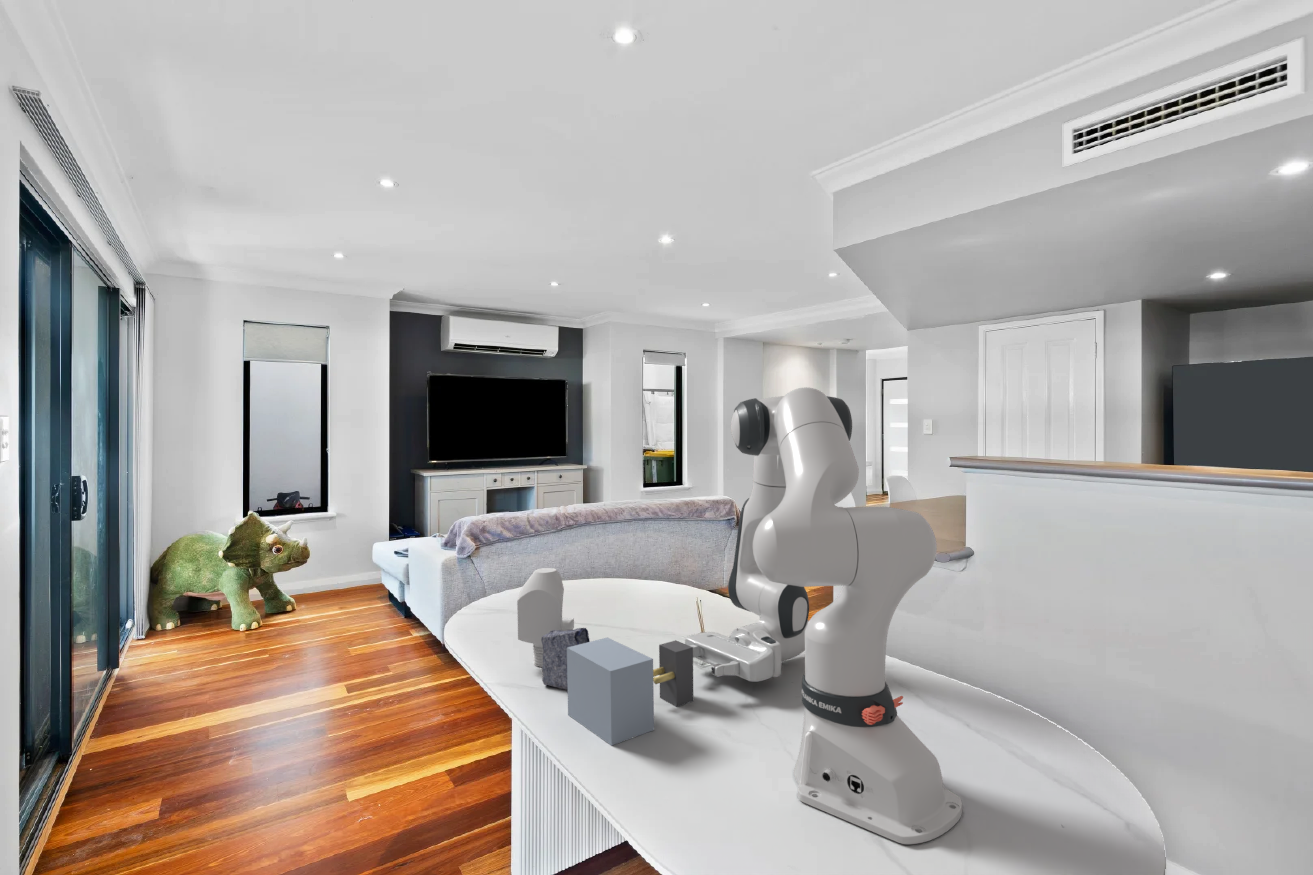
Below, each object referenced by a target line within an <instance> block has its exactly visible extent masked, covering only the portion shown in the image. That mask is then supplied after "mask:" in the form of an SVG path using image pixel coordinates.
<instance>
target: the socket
mask: <svg viewBox="0 0 1313 875" xmlns="http://www.w3.org/2000/svg"><path fill="white" fill-rule="evenodd" d="M653 670H654V658H653V657H650V656H648V655H645V653H644V654H643V653H641V652H640V651H637V650H635V649H633V648H631V647H629V646H626V644H625V645H624V644H623V643H620V642H619V641H616V640H614V639H612V638H610V637H603V638H600V639H595V640H591V641H590V642H587V643H583V644H579V645H575V646H571V647H567V684H568V690H567V715H568V716H569V717H570V718H572V719H573V720H574V721H576V722H577V723H579V725H582V727H583V728H584V727H585V729H588V730H589V731H590V732H591V733H593V734H594V735H596V736H597V737H599V738H600V739H601V740H603V741H604V742H606V743H607V744H608V745H609V746H615V745H617V744H620V743H622V741H623V742H625V741H624V740H626V741H628V740H631V739H633V738H632V737H634V738H636V737H639V736H641V735H645V734H647V733H649V732H652V731H654V730H655V714H654V713H655V712H654V711H655V709H654V707H655V705H654V704H655V703H654V700H655V699H654V697H655V696H654V695H655V694H654V681H653V678H654V677H653ZM635 736H636V737H635Z"/></svg>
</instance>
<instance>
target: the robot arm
mask: <svg viewBox="0 0 1313 875" xmlns="http://www.w3.org/2000/svg"><path fill="white" fill-rule="evenodd" d="M730 431H731V432H730V433H731V437H732V439H733V441H734V445H735V447H736V449H738V450H739V452H740V453H742V454H743V455H749V456H753V467H752V490H751V493H750V496H749V497H748V498H747V499H746V500H745V501H744V503H743V505H742V507H741V512H740V513H739V514H740V515H739V520H738V528H737V534H736V543H735V549H734V550H735V551H734V558H733V565H732V570H731V572H730V576H729V579H728V581H727V582H728V583H727V591H728V596H729V599H730V601H731V603H732V604H733V606H735V607H737V608H739V609H741V610H744V611H748V612H750V613H753V614H755V615H757V616H759V619H758V621H757V622H754V623H750V624H747V625H743V626H739V627H736V628H734V629H733V630H732V631H731V633H730V634H729V636H728V635H727V636H726V635H724V634H721V633H719V632H715V631H706V632H699V633H694V634H689V635H687V636H686V637H685V639H684V644H686V645H688V646H691V647H693V659H694V658H695V659H697V660H699V661H702V662H703V663H706V664H709V665H711V674H712V675H713V676H715V677H722V676H735V677H736V676H737V677H738V678H741V679H744V680H746V681H748V682H753V683H755V682H758V683H759V682H763V681H765V680H768V679H769V680H770V679H772V678H778V677H781V675H782V662H785V661H788V660H790V659H793V658H795V657H797V656H800V654H802V653H803V652H804V674H803V676H802V679H801V680H802V681H801V703H802V705H803V708H804V710H803V723H802V732H801V741H800V746H799V752H798V755H797V759H796V762H795V763H796V764H795V765H794V770H793V774H794V779H795V780H796V782H797V785H798V789H797V799H798V800H799V801H800V802H802V803H804V804H806V805H807V806H808V805H809V806H811V807H813V808H815V809H818V810H821V811H823V812H824V813H827V814H830V815H832V816H835V817H836V818H840V819H842V820H844V821H846V822H849V823H851V824H853V825H856V826H858V827H861V828H863V829H865V830H868V831H870V832H873V833H875V834H877V835H879V836H882V837H884V838H886V839H888V840H891V841H893V842H896V843H899V844H900V845H901V844H902V845H916V844H922V843H925V842H929V841H932V840H934V839H936V838H939V837H940V836H942V835H944V834H945V833H947V832H948V831H949V830H950V829H952V828H953V827H954V826H955V825H956V824H957V823H958V822H959V821H960V819H961V817H962V816H963V805H962V804H963V803H962V799H961V797H960V796H958V795H957V794H956V793H954V792H952V791H950V790H949V789H948V788H946V787H945V786H944V781H943V776H942V770H941V766H940V763H939V761H938V758H937V757H936V756H935V754H934V753H933V752H932V751H931V750H930V749H929V748H928V747H927V746H926V745H925V744H924V743H923V741H921V739H920V738H919V737H918V736H917V735H916V734H915V733H914V732H913V731H912V730H911V728H909V726H908V725H907V724H906V723H905V722H904V721H903V719H901V718H900V717H899V715H898V710H897V708H899V706H902V705H903V704H904V702H903V701H902V700H903V698H904V696H903V695H900V696H898V697H896V698H893V696H892V692H891V690H890V688H889V685H888V683H887V682H886V658H887V657H886V656H887V641H888V633H889V628H890V624H891V622H892V619H893V615H894V614H895V612H896V609H897V608H898V606H899V604H900V603H901V601H902V600H903V598H904V596H906V594H907V593H908V591H909V590H910V589H912V587H913V586H914V585H916V583H918V582H919V581H920V580H922V579H923V578H924V577H926V576H927V574H928V573H929V572H930V571H931V569H932V568H933V566H934V564H935V560H936V558H937V550H938V544H937V539H936V536H935V532H934V530H933V529H932V527H931V524H930V523H929V521H928V520H927V519H926V518H925V517H924V516H923V515H922V514H921V513H919V512H916V511H913V510H908V509H902V508H897V507H896V508H895V507H890V506H862V507H861V506H860V507H859V506H857V507H854V506H852V507H850V506H849V507H843V506H836V505H837V504H838V503H840V502H841V501H842V500H844V499H846V497H848V496H849V494H851V493H852V492H853V490H854V489H855V488H856V486H857V483H858V480H859V473H860V471H859V465H858V463H857V459H856V457H855V454H854V451H853V448H852V445H851V442H850V440H851V438H852V432H853V418H852V413H851V409H850V407H849V406H848V405H847V403H846V402H845V401H844V400H843V399H841V398H839V397H836V396H828V395H826V394H825V393H824V392H822V391H821V390H818V389H816V388H813V387H799V388H796V389H793V390H790V391H789V392H787V393H786V394H784V395H781V396H772V397H765V398H760V399H758V398H750V399H746V400H743V401H740V402H739V403H738V404H737V405H736V406H735V408H734V409H733V414H732V417H731V422H730ZM833 586H835V587H837V586H840V587H841V586H842V588H841V590H840V592H839V594H838V596H837V597H836V598H835V600H833V601H832V602H831V603H830V604H829V605H827V606H826V607H823V608H821V609H820V610H818V611H817V612H815V613H814V614H813V615H812V617H811V618H810V619H809V616H810V615H809V613H810V600H809V595H808V592H807V590H806V588H805V587H807V588H808V587H833Z"/></svg>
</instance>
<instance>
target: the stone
mask: <svg viewBox="0 0 1313 875" xmlns="http://www.w3.org/2000/svg"><path fill="white" fill-rule="evenodd" d="M541 642H542V646H543V666H542V667H541V670H542V677H541V678H542V679H541V681H542V683H543V685H545V686H547V685H548V686H551V687H552V688H558V689H559V690H560V689H561V690H562V689H563V690H566V691H568V684H567V647H571V646H575V645H579V644H583V643H587V642H591V641H590V635H589V631H588V629H587V627H578V628H573V630H567V631H561V630H551V631H550V632H549V633H548V634H546V635H543V636H542V638H541Z"/></svg>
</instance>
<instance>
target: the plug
mask: <svg viewBox="0 0 1313 875" xmlns="http://www.w3.org/2000/svg"><path fill="white" fill-rule="evenodd" d="M658 649H659V650H658V651H659V653H658V654H659V657H658V658H659V659H658V661H659V662H658V663H659V666H658V667H657V668H653V684H655V685H658V684H659V699H662V700H663V701H665V702H666V703H668V704H670V705H672V706H673V707H675V708H678V707H681V706H684V705H686V704H689V703H691V702H694V658H693V647H691V646H688V645H686V644H685V642H682V641H681V642H680V641H678V640H676V639H675V640H672V641H669V642H665V643H661V644H660V643H659V645H658Z"/></svg>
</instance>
